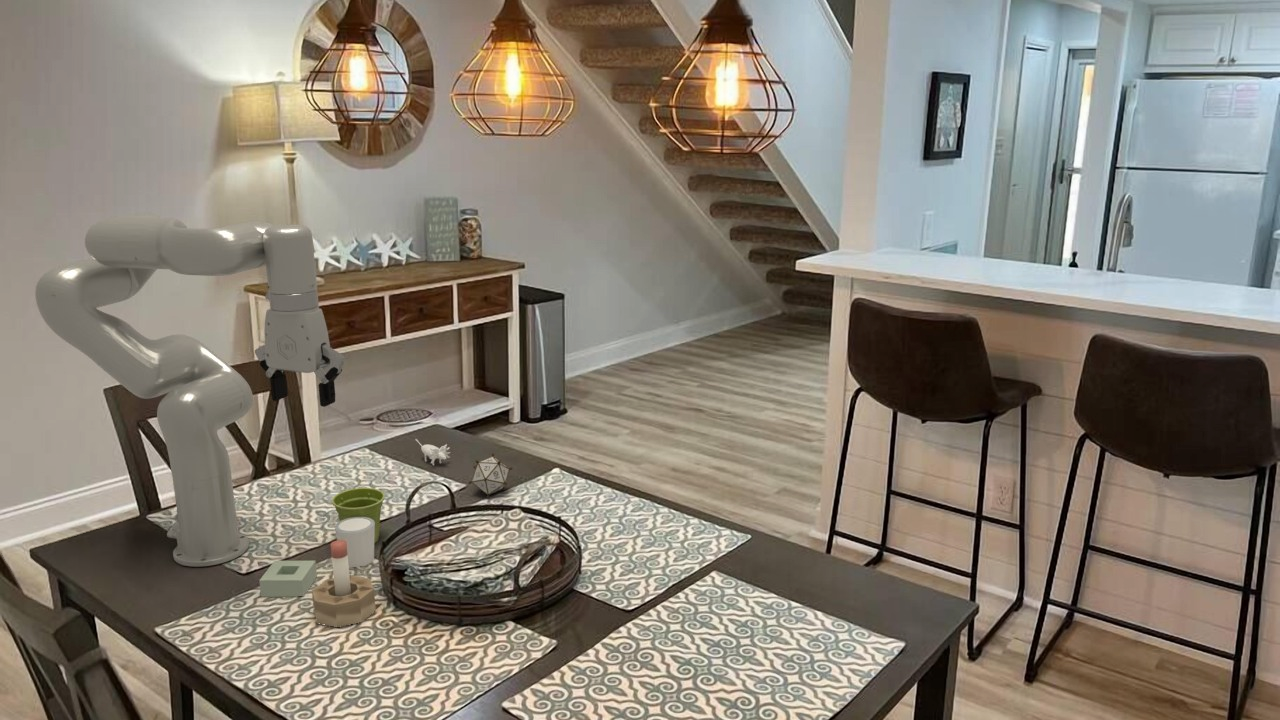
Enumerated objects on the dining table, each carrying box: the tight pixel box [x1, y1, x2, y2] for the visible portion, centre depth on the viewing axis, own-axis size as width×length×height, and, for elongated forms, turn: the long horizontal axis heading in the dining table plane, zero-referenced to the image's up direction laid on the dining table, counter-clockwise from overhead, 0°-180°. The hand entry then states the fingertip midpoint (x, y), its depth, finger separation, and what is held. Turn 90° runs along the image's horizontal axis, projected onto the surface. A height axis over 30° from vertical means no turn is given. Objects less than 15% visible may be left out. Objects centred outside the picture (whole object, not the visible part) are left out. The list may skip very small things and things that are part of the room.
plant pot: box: [331, 487, 386, 544], centre depth 178 cm, size 9×9×9 cm
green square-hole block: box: [258, 560, 318, 598], centre depth 162 cm, size 7×7×3 cm
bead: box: [311, 574, 377, 628], centre depth 153 cm, size 9×9×4 cm
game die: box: [467, 452, 514, 500], centre depth 200 cm, size 9×8×10 cm
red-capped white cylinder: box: [330, 539, 351, 597], centre depth 152 cm, size 2×2×12 cm
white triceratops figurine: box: [415, 438, 451, 466], centre depth 218 cm, size 12×5×5 cm, turn 43°
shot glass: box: [333, 517, 375, 568], centre depth 171 cm, size 7×7×7 cm
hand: (303, 401), depth 162 cm, fingers open, 9 cm apart
